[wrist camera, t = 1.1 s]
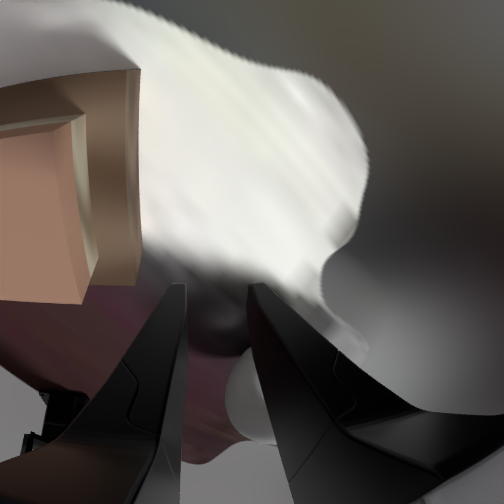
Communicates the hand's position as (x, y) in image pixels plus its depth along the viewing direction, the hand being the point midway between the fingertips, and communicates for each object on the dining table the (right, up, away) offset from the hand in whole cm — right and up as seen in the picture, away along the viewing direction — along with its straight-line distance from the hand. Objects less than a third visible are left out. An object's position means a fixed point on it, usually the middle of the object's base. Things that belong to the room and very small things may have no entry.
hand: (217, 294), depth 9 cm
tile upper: (-11, +3, +3) cm, 12 cm away
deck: (-13, +6, +8) cm, 16 cm away
